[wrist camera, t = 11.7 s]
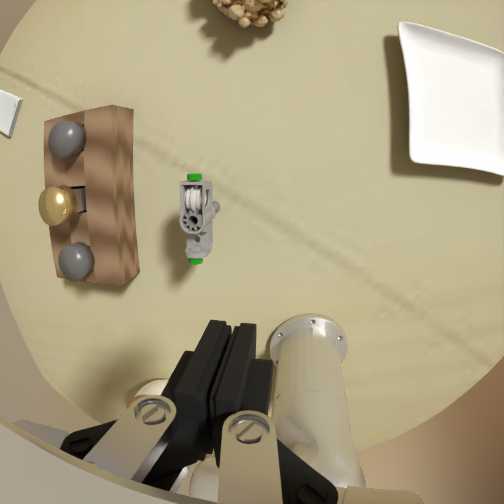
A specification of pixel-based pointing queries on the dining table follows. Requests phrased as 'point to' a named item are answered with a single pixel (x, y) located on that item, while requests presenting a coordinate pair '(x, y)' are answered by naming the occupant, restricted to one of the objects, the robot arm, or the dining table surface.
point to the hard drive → (8, 112)
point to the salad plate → (453, 99)
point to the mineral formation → (252, 10)
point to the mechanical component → (197, 216)
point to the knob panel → (99, 194)
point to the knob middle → (61, 203)
